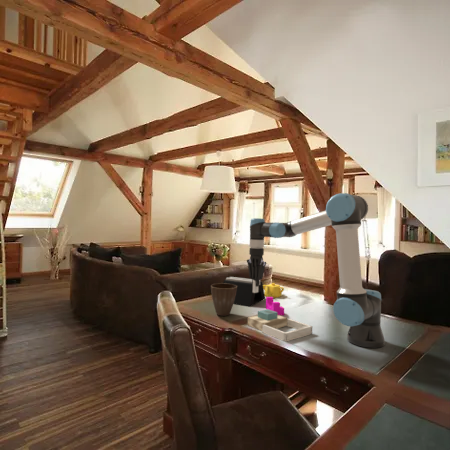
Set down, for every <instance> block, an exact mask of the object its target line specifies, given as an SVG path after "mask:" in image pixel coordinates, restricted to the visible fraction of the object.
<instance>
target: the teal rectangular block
mask: <svg viewBox="0 0 450 450" xmlns="http://www.w3.org/2000/svg"><path fill="white" fill-rule="evenodd" d="M257 315H258V317H259V318H262V319H264V320H267V321H268V320H272V319H277V316H278V312H275V311H272V310H269V309H266V308H265V309H262V310H258V311H257Z"/></svg>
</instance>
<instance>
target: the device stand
mask: <svg viewBox="0 0 450 450" xmlns="http://www.w3.org/2000/svg"><path fill="white" fill-rule="evenodd" d="M222 283H226V284H234V285H236V286H237V291H236V296H235V300H234V303H233V305H235V306H237V305H238V306H243V307H248V308H251V307H252V306H255V305H256V304H258V303H260V302H262V301H264V300H266V297H265V290H264V289H263V285H264V284H263V281H261V280H259V286H258V292H257V293H253V285H252V278H245V277H236V276H235V277H234V276H229V277H226V278H225V279H224V280H223V282H222Z"/></svg>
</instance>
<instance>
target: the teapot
mask: <svg viewBox="0 0 450 450" xmlns="http://www.w3.org/2000/svg"><path fill="white" fill-rule="evenodd" d="M263 289H264V294H265V298H266V297H273V299H277V297H278V298H280V297H282V293H283V292H284V291H285V287H282V286H281V285H280V284H276V283H275V282H271V283H270V284H263Z"/></svg>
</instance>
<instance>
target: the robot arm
mask: <svg viewBox="0 0 450 450" xmlns="http://www.w3.org/2000/svg"><path fill="white" fill-rule="evenodd" d="M368 211H369V205H368V202H367V201H366V199H365V198H364V197H362V196H360V195H358V194H357V195H356V194H351V193H346V192H343V193H335V195H334V194H333V195H332V196H331V197H330V198H329V199H328V201H327V202H326V205H325V210H323V211H319V212H316V213H313V214H310V215H307V216H303V217H300V218H297V219H293V220H291V221H288V222H266V221H265V220H266V219H264V218H256V217H255V218H251V219H250V221H249V222H250V223H249V224H250V225H249V250H248V251H249V253H248V254H249V255H250V256H249V258H248V259H246V263H247V268H248V277H249V279H252V285H253V293H257V292H258V286H259V280H260V281H261V280H263V278H264V272H265V268H266V264H267V262H266V261H264V258H263V256H264V255H265V254H264V252H265V249H264V246H265V238H274V239H281V238H292V237H293V238H294V237H295V236H297V235H300V234H303V233H307V232H311V231H314V230H318V229H321V228H325V227H329V226H331V227H332V228H333V229H334V230H335V235H336V238H335V239H336V249H337V251H336V252H337V263H338V275H339V276H338V278H339V288H338V289H337V290H336V301H334V303H333V307H332V312H333V314H334V317H335V319H336V320H337V321H338V322H339V323H341V324H342V325H343V326H347V327H349V329H348V332H347V335H346V336H347V341H348V342H349V343H351V344H352V345H353V344H354V345H355V346H358V347H363V348H369V349H370V348H371V349H372V348H373V349H376V348H377V349H378V348H383V347H384V346H385V341H386V340H385V336H384V333H383V331H382V330H383V329H382V328H381V327H382V326H381V322H382V321H381V317H382V314H381V312H382V294H381V292H379V291H378V290H372V289H368V288H367V289H366V288H364V287H363V282H362V280H363V279H362V270H361V269H362V268H361V267H362V266H361V255H360V244H359V228H360V227H361V226H362V220H363V219H364V218H365V217H366V216H367V214H368Z"/></svg>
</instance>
